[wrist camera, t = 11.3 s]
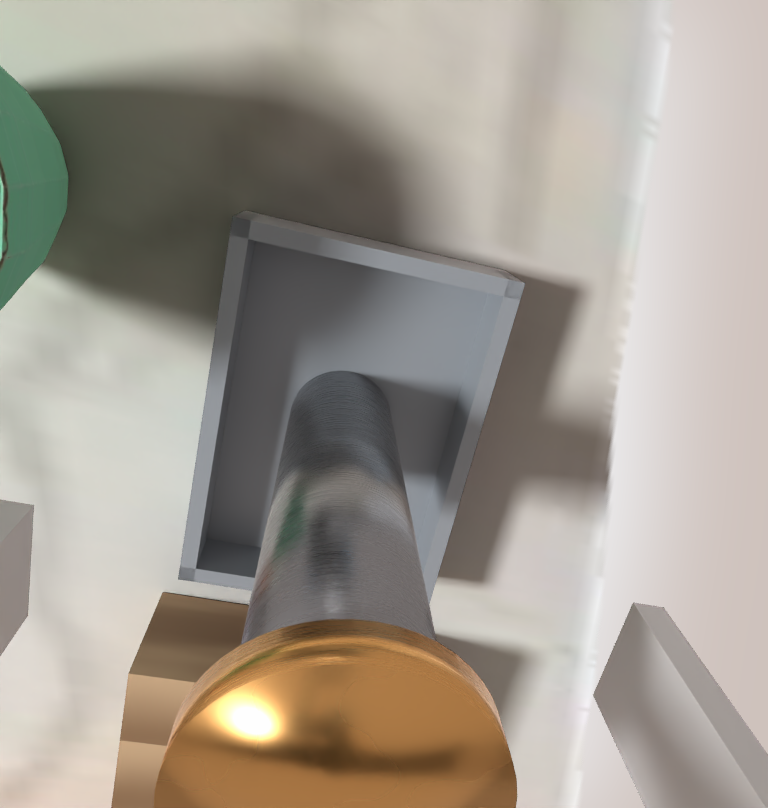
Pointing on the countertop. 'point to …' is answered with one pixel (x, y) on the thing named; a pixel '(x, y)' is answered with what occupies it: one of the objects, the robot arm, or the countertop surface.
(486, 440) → the countertop surface
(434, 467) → the tray
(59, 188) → the mug
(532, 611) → the countertop surface
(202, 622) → the block
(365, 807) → the pin
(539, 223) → the countertop surface
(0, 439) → the countertop surface
